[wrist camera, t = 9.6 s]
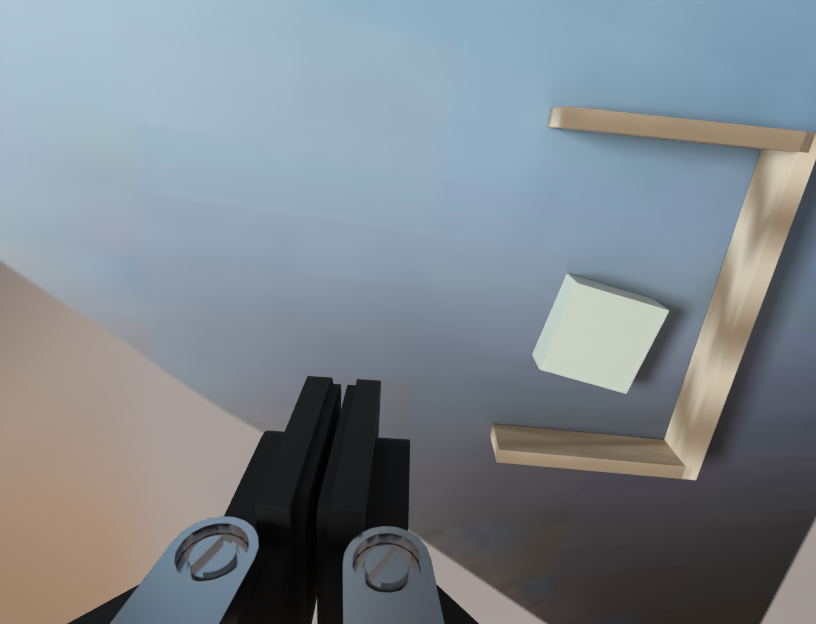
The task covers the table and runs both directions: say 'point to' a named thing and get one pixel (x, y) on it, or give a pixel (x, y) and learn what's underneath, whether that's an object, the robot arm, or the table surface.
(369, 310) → the table surface
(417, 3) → the table surface
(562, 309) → the sage tile
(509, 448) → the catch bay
